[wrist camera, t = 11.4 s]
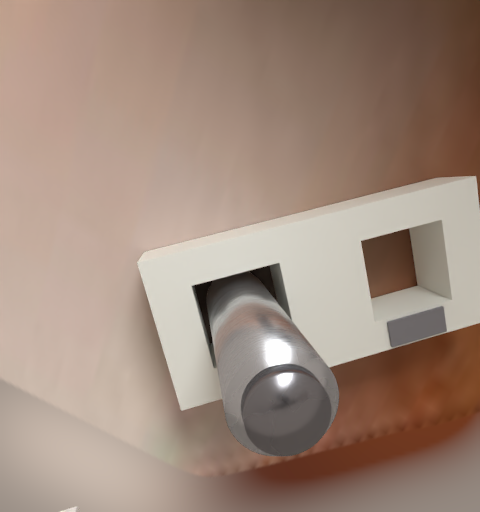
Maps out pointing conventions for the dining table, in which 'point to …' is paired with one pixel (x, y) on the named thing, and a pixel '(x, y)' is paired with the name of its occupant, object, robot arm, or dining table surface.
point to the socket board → (326, 278)
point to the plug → (267, 370)
